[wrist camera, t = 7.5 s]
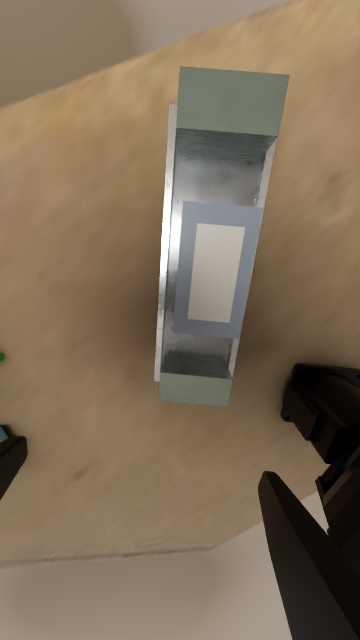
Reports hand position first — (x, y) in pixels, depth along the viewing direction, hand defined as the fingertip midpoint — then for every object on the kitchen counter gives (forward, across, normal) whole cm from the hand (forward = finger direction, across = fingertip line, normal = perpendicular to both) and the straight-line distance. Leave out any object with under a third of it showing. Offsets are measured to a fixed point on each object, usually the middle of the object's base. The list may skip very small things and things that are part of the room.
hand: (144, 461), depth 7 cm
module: (+10, -2, -7) cm, 13 cm away
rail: (+12, -2, -7) cm, 14 cm away
